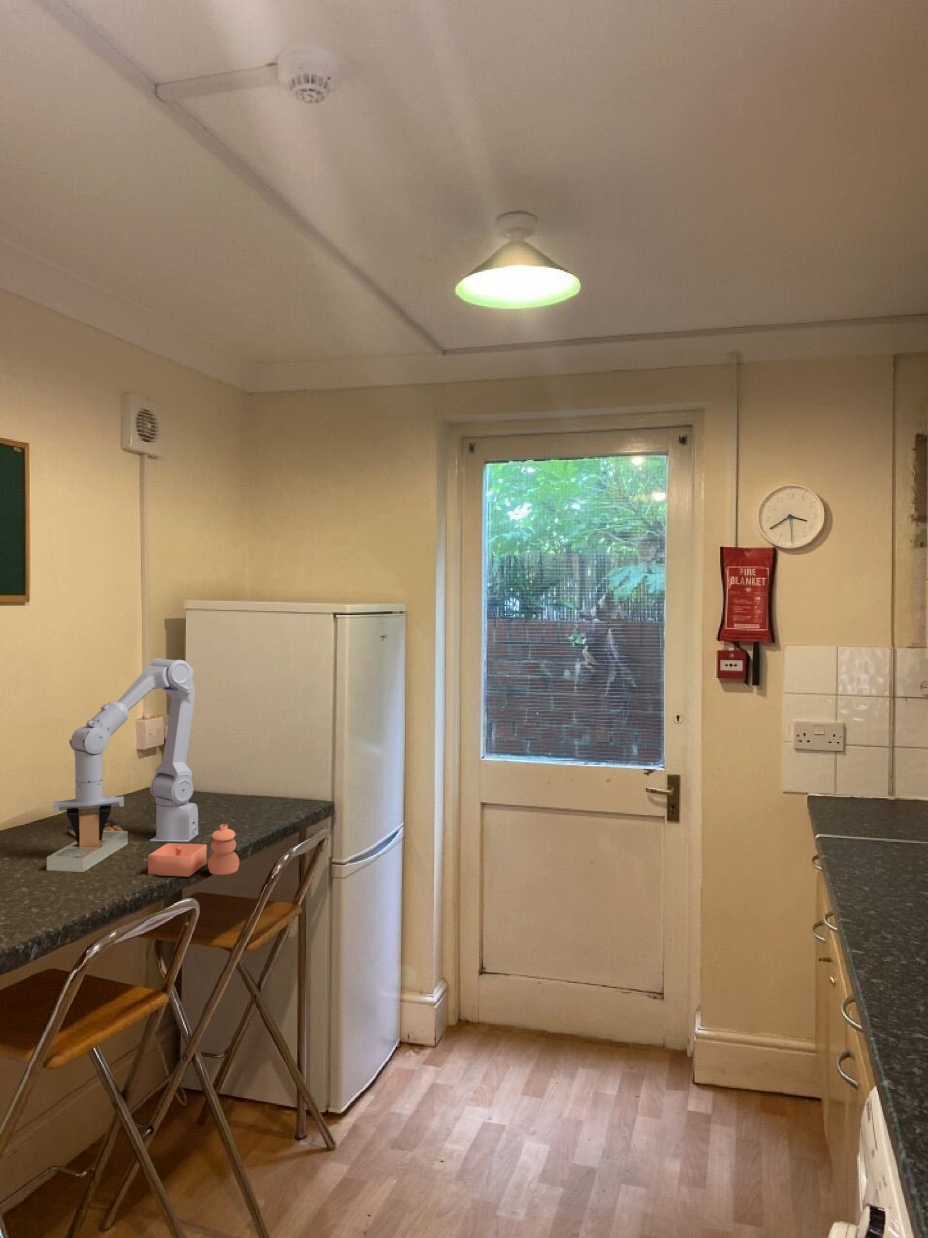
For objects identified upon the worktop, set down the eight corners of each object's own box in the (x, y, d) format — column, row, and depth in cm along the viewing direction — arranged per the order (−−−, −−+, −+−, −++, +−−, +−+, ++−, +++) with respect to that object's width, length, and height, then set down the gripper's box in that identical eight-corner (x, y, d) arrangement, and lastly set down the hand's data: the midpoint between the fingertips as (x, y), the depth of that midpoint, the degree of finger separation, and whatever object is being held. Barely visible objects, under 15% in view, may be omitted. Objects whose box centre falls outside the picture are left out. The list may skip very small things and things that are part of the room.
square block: (98, 850, 206) (98, 811, 206) (99, 855, 202) (98, 815, 202) (79, 852, 204) (79, 812, 204) (79, 857, 201) (79, 816, 200)
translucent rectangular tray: (94, 843, 214) (94, 830, 214) (127, 843, 214) (127, 831, 214) (46, 871, 192) (46, 857, 192) (83, 872, 192) (83, 858, 192)
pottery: (148, 875, 191) (148, 828, 191) (167, 862, 200) (167, 818, 200) (230, 878, 189) (230, 831, 189) (245, 864, 199) (245, 820, 198)
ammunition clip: (67, 833, 222) (84, 846, 213) (67, 826, 222) (84, 838, 213) (111, 826, 229) (129, 838, 220) (111, 819, 229) (129, 830, 220)
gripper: (122, 774, 209) (122, 833, 210) (54, 779, 204) (54, 839, 204) (124, 780, 203) (124, 840, 203) (53, 785, 197) (53, 847, 197)
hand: (89, 840), depth 203 cm, fingers closed on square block, 4 cm apart
